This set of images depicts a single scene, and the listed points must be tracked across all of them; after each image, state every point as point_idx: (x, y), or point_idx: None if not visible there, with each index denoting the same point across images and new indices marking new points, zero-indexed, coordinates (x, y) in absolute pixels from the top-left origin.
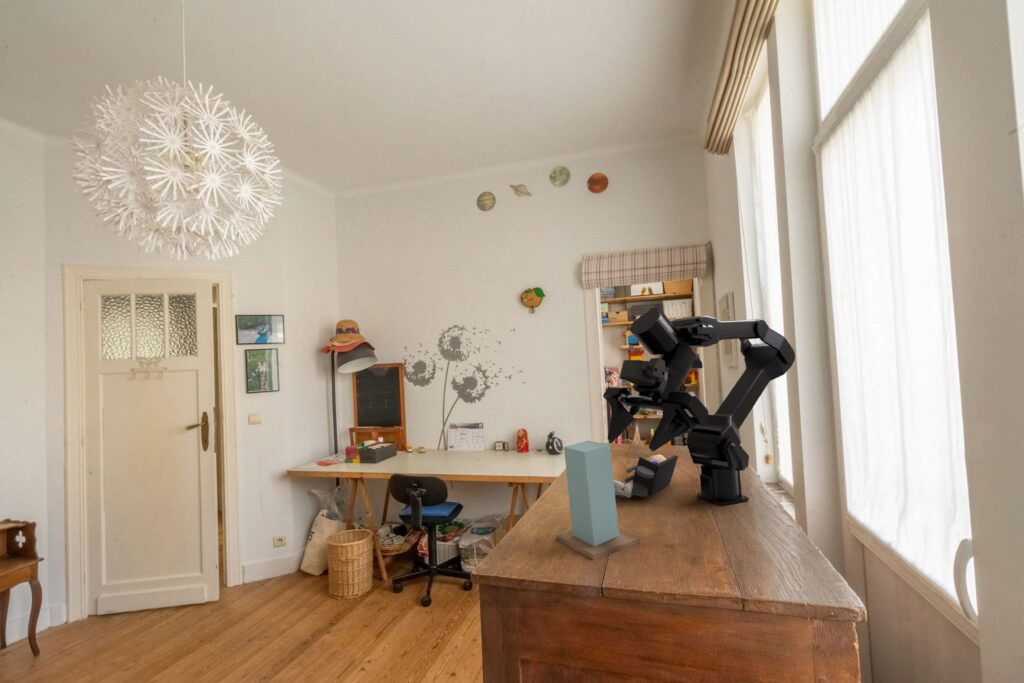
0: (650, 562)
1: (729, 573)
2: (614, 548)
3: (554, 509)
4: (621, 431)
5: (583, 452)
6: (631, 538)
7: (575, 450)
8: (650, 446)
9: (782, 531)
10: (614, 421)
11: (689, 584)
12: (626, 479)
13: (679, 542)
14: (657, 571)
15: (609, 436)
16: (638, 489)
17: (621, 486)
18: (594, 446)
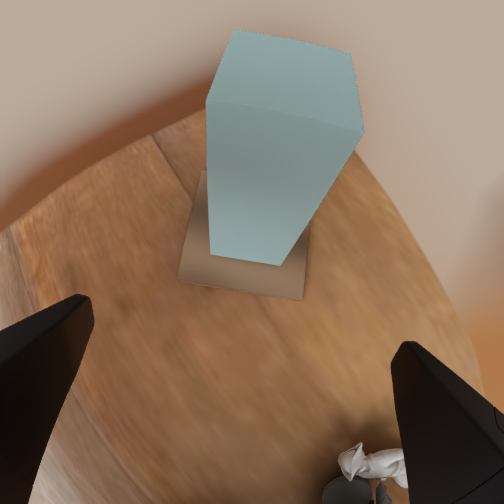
0: (122, 225)
1: (26, 271)
2: (191, 214)
3: (422, 302)
4: (408, 451)
5: (241, 33)
6: (188, 268)
7: (285, 40)
8: (77, 295)
9: None
10: (468, 411)
11: (57, 206)
12: (380, 489)
13: (119, 333)
14: (102, 207)
15: (413, 347)
16: (340, 491)
17: (371, 459)
18: (255, 71)
